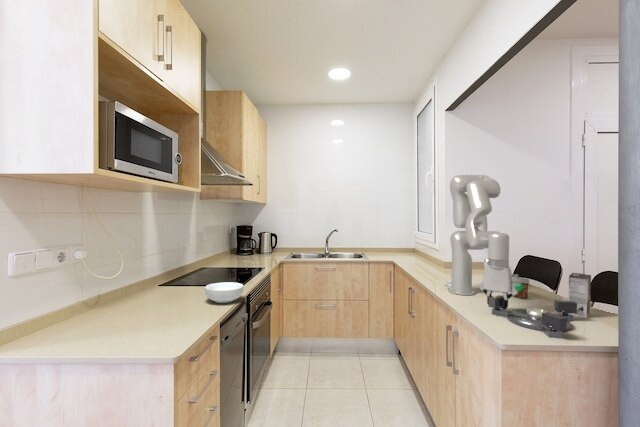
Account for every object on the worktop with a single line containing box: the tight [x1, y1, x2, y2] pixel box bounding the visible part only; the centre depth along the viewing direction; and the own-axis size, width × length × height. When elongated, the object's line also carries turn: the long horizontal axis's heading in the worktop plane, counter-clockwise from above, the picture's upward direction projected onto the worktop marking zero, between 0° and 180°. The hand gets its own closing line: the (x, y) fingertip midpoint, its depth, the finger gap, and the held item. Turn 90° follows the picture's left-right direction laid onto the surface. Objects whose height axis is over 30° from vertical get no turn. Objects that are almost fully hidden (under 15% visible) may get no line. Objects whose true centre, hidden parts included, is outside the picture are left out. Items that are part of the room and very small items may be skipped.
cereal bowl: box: [204, 281, 244, 304], centre depth 151 cm, size 17×17×7 cm
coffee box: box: [568, 272, 592, 319], centre depth 137 cm, size 9×6×16 cm
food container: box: [510, 273, 530, 300], centre depth 164 cm, size 12×6×10 cm, turn 172°
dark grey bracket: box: [489, 294, 504, 309], centre depth 136 cm, size 6×4×4 cm
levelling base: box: [491, 299, 577, 339], centre depth 128 cm, size 26×30×7 cm
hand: (497, 307), depth 136 cm, fingers closed on dark grey bracket, 4 cm apart
